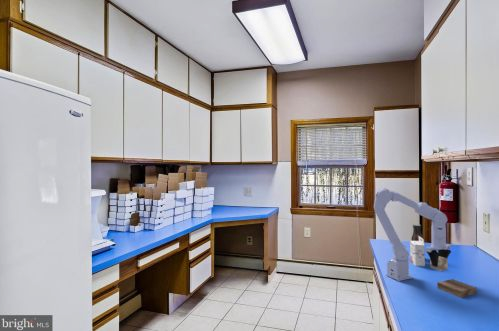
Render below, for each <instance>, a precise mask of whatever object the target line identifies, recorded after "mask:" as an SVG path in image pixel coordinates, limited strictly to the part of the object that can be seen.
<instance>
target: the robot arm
mask: <svg viewBox="0 0 499 331" xmlns="http://www.w3.org/2000/svg"><path fill="white" fill-rule="evenodd" d="M374 198H375V199H374V203H373V209H374V213H375V214H376V217H377V218H378V220H379V223H380V224H381V226H382V229H383V230H384V232H385V234H386V236H387V238H388V240H389V242H390V245H391V249H392V252H393V254H392V256H391V259H389V260H388V261H387V263H386V269H387V270H386V273H387V274H386V273H385V276H387V277H389V278H391V279H393V280H396V281H399V282H400V281H405V280H411V279H413V278H414V276H412V275H409V274H410V273H409V272H410V271H409V268H410V266H409V264H410V262H409V259H410V258H409V256H410V255H409V251H408V249H407V247H406V245H404V244H403V243H402V242H401V239H400V238H399V236H398V234H397V231H396V230H395V228H394V225H393V224H392V222H391V220H390V218H389V216H388V214H387V212H386V210H385V209H386V207H387V205H388V204H389V202H399V203H401V204H403V205H406V206H408V207H409V208H411V209H413V210H414V213H416V214H418V215H420V216H422V217H423V218H426V219H427V220H431V233H430V234H431V237H430V238H431V244H430V245H428V246H425V252H426V253H427V255H428V257H429V261H430V260H431V263H432V266H435V267H437V265H438V258H439V256H440V257H443V258H446V259H449V255H450V254H451V253H452V250H451V249H452V244H450V243H447V240H446V239H447V234H446V233H447V232H446V231H447V228H446V223H447V222H448V217H447V215H446V214H445V213H443V212H442V211H440V209H438V208H435V207H432V206H431V205H428V203H427V202H422V201H420V202H416V201H414V200H412V199H411V198H408V197H407V196H405V195H402V194H400V193H399V192H396V191H393V190H391V189H390V190H389V188H387V187H382V188H379V189H378V191H377V192H376V193H375V197H374Z"/></svg>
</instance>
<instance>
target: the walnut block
mask: <svg viewBox="0 0 499 331" xmlns="http://www.w3.org/2000/svg"><path fill="white" fill-rule="evenodd" d="M437 289H438V290H441V291H442V292H443V291H444V292H445V293H449V294H451V295H453V296H455V297H458V298H460V299H461V298H464V297H465V298H466V297H469V296H472V295H476V294H477V287H475V286H473V285H470V284H468V283H465V282H462V281H459V280H456V279H453V278H451V279H448V280H447V279H446V280H443V281H437Z"/></svg>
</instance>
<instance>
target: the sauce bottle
mask: <svg viewBox="0 0 499 331" xmlns="http://www.w3.org/2000/svg"><path fill="white" fill-rule="evenodd" d="M412 228H413V232H412V234H411V235H412V236H411V238H410V239H411V240H410V241H419V237H418V236H420V237H421V238H422V239H424V236H423V234H422V231H421V229H422V225H421V224H417V223H416V224H415V223H413V224H412ZM421 241H422V240H421Z"/></svg>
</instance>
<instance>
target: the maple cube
mask: <svg viewBox="0 0 499 331" xmlns="http://www.w3.org/2000/svg"><path fill="white" fill-rule="evenodd" d="M448 259H449V258H447V259H446V258H443V257H440V256H439V258H438V265H437V267H435V266H432V263H431V260H430V259H429V267H430V269H433V270H436V271H439V272H443V271H448V268H449V267H448V266H449V263H448V262H449V260H448Z"/></svg>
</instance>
